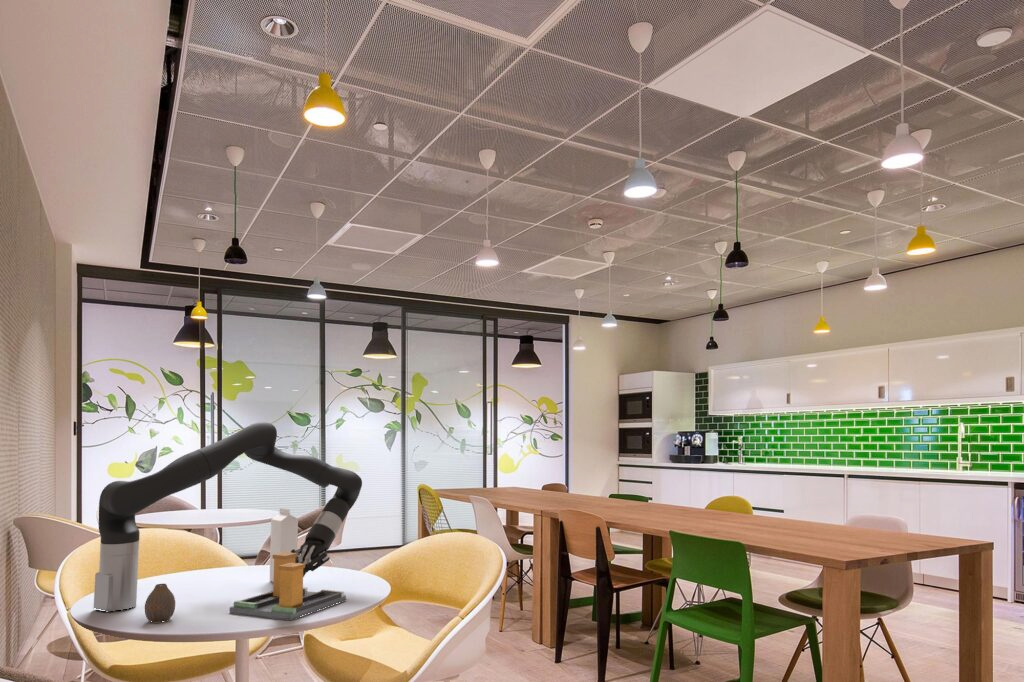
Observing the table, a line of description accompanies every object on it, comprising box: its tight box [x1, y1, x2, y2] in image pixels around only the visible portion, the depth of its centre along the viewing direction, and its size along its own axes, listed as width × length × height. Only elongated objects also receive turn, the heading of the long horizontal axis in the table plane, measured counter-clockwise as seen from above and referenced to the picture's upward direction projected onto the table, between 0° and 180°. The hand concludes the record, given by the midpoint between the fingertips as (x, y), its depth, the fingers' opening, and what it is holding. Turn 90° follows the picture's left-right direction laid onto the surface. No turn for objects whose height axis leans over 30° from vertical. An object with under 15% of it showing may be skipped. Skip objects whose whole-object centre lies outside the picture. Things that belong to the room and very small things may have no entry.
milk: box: [269, 507, 299, 583], centre depth 230 cm, size 6×6×22 cm
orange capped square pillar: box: [272, 552, 297, 596], centre depth 203 cm, size 5×5×11 cm
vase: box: [144, 583, 176, 623], centre depth 183 cm, size 7×7×9 cm
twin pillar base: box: [228, 563, 347, 622], centre depth 196 cm, size 22×20×12 cm
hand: (294, 581), depth 204 cm, fingers closed
